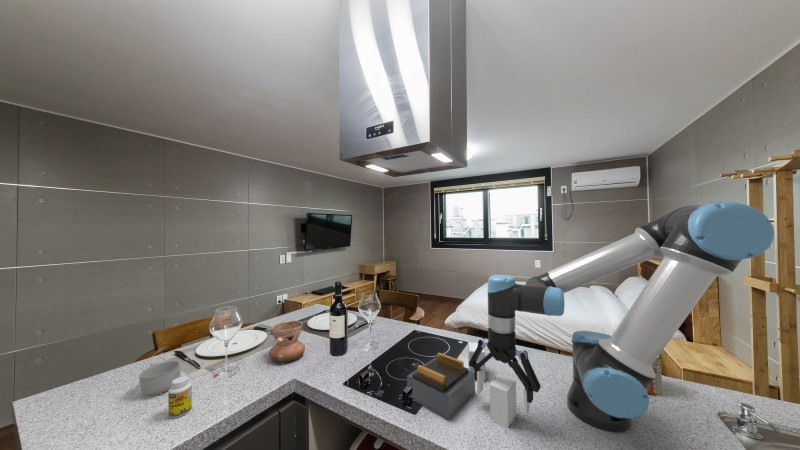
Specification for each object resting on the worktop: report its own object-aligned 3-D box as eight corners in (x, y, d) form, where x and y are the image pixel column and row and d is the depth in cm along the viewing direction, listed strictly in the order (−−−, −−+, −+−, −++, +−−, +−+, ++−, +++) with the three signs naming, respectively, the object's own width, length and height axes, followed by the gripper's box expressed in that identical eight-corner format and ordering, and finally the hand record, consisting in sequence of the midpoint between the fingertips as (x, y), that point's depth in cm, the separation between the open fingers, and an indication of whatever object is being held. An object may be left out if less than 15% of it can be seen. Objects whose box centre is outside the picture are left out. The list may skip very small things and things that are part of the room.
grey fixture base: (475, 394, 87) (474, 362, 87) (449, 420, 75) (448, 384, 75) (435, 376, 98) (435, 348, 98) (407, 397, 86) (406, 365, 86)
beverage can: (625, 388, 89) (624, 352, 89) (626, 376, 95) (625, 343, 95) (662, 399, 83) (661, 361, 83) (661, 386, 89) (660, 351, 89)
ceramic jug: (295, 367, 106) (295, 332, 107) (260, 367, 106) (260, 332, 107) (311, 348, 124) (311, 317, 125) (281, 348, 124) (281, 317, 125)
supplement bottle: (163, 420, 77) (163, 386, 78) (175, 408, 83) (175, 375, 83) (185, 417, 79) (185, 383, 79) (195, 405, 84) (195, 373, 84)
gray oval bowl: (182, 389, 93) (182, 366, 93) (139, 404, 85) (139, 380, 85) (176, 374, 102) (176, 354, 102) (137, 387, 94) (137, 365, 94)
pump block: (516, 414, 77) (515, 380, 77) (507, 428, 72) (506, 391, 72) (500, 406, 81) (499, 374, 81) (490, 419, 76) (489, 384, 76)
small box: (485, 381, 94) (485, 352, 94) (469, 380, 95) (469, 351, 95) (483, 369, 102) (482, 342, 102) (468, 368, 103) (467, 341, 103)
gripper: (552, 336, 71) (553, 415, 71) (469, 315, 88) (469, 378, 88) (545, 346, 66) (545, 431, 65) (457, 321, 83) (457, 389, 82)
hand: (502, 401), depth 77 cm, fingers open, 13 cm apart
